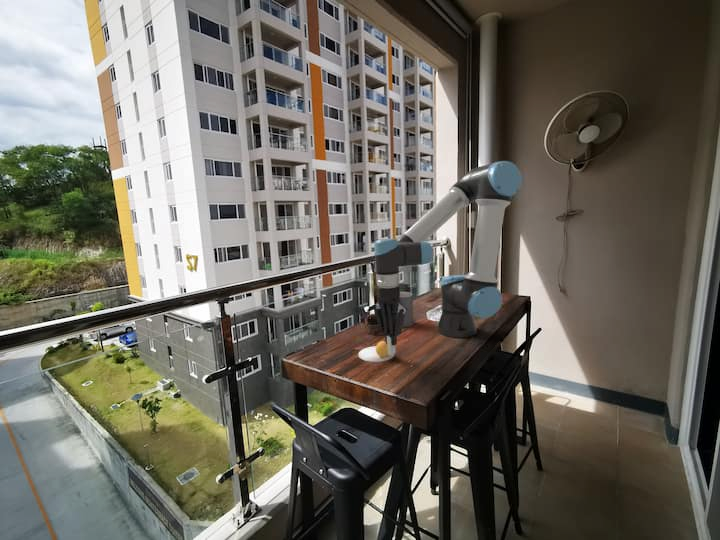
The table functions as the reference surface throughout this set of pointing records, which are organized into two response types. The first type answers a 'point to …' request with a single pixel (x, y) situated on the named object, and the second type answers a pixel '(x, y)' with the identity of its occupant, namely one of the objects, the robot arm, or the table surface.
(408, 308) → the pillar candle
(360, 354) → the disc
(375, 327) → the pottery mug
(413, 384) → the table surface
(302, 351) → the table surface
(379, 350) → the ball
